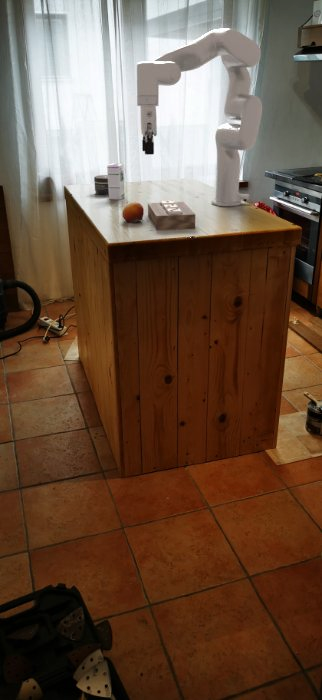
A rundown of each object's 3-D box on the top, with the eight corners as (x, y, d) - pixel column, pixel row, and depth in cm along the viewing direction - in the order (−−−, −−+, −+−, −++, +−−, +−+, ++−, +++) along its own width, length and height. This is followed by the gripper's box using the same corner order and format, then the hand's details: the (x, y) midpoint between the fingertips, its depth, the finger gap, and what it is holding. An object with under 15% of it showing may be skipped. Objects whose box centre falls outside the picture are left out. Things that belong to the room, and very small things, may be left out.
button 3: (179, 213, 203) (179, 207, 202) (181, 216, 199) (181, 210, 198) (166, 214, 202) (166, 208, 201) (168, 217, 198) (168, 210, 197)
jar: (101, 190, 265) (101, 174, 262) (120, 192, 261) (119, 175, 258) (90, 194, 257) (89, 177, 254) (109, 196, 253) (109, 178, 250)
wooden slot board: (183, 214, 219) (183, 201, 217) (195, 228, 200) (195, 214, 198) (148, 216, 217) (147, 203, 215) (156, 230, 198) (156, 215, 196)
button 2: (175, 209, 209) (175, 203, 208) (177, 212, 205) (177, 206, 204) (163, 210, 209) (163, 204, 208) (165, 212, 205) (165, 206, 204)
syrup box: (121, 199, 246) (120, 165, 240) (108, 199, 247) (106, 164, 241) (124, 197, 251) (123, 163, 245) (112, 196, 252) (110, 163, 246)
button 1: (172, 205, 215) (172, 199, 214) (174, 208, 211) (174, 202, 210) (160, 206, 215) (160, 200, 214) (162, 208, 211) (162, 202, 210)
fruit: (140, 221, 204) (130, 201, 203) (125, 230, 209) (115, 210, 208) (152, 217, 210) (142, 197, 209) (137, 225, 215) (128, 206, 214)
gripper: (161, 102, 189) (161, 155, 197) (155, 100, 205) (155, 149, 212) (139, 102, 188) (139, 155, 196) (135, 100, 204) (135, 150, 211)
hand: (148, 152), depth 204 cm, fingers open, 9 cm apart
